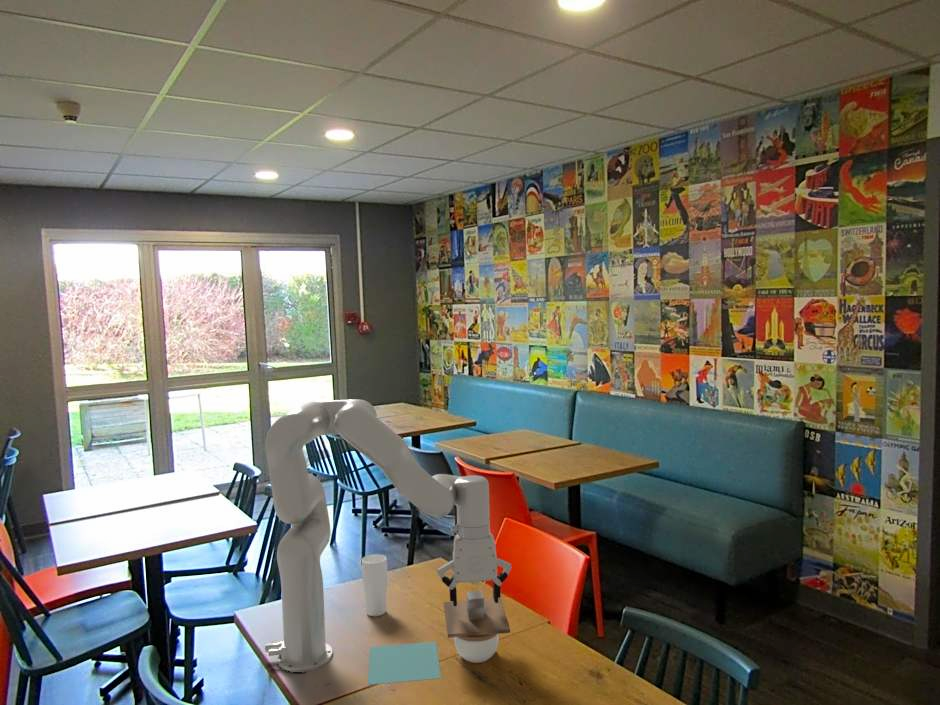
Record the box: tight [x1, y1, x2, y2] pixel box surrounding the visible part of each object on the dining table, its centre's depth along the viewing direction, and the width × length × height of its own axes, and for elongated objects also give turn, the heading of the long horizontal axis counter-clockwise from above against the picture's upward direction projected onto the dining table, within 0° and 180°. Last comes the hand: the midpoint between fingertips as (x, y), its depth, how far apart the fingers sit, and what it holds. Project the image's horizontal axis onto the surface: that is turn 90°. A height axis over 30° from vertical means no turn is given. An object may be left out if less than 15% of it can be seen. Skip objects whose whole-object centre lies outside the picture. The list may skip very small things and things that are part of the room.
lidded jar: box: [453, 634, 500, 664], centre depth 152 cm, size 11×11×9 cm
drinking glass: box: [361, 553, 388, 617], centre depth 175 cm, size 7×7×15 cm
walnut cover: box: [443, 590, 511, 638], centre depth 151 cm, size 14×14×6 cm
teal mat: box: [367, 641, 442, 686], centre depth 150 cm, size 16×16×1 cm
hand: (475, 602), depth 151 cm, fingers open, 9 cm apart
